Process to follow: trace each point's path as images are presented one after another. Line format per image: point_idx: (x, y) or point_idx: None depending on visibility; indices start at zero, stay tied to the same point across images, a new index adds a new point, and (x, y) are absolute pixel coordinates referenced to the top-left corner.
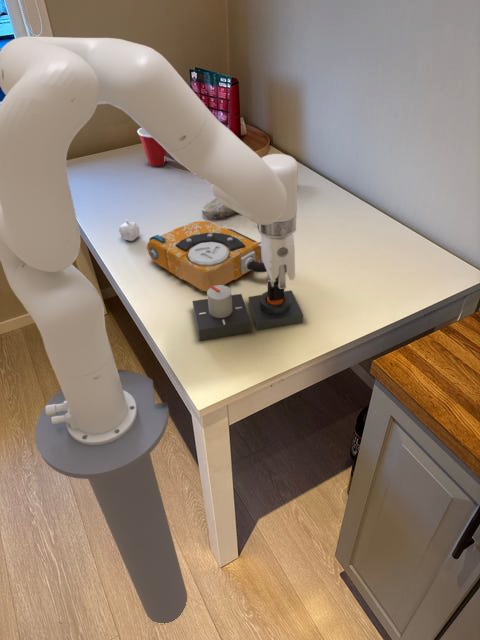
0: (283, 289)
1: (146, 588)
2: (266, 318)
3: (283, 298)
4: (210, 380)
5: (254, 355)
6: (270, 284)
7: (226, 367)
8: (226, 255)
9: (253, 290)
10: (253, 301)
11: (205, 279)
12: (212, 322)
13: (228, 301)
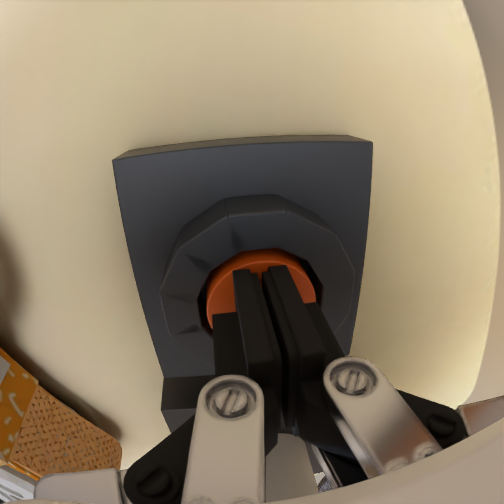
0: (307, 315)
1: None
2: (342, 324)
3: (284, 265)
4: (438, 401)
5: (430, 334)
6: (285, 426)
7: (428, 384)
8: (10, 478)
9: (70, 318)
10: (201, 365)
11: None
12: (314, 458)
13: (313, 489)
